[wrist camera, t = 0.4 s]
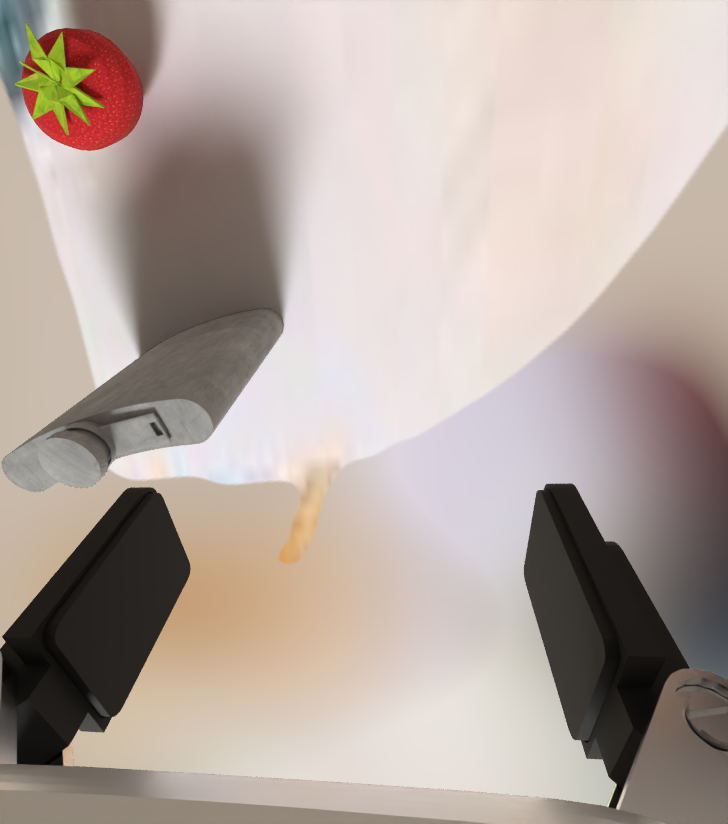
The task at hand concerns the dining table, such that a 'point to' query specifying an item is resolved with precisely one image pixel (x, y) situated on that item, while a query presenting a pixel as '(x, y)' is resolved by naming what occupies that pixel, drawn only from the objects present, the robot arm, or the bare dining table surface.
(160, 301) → the dining table surface
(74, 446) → the hip flask
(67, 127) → the strawberry
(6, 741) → the robot arm
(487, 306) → the dining table surface
